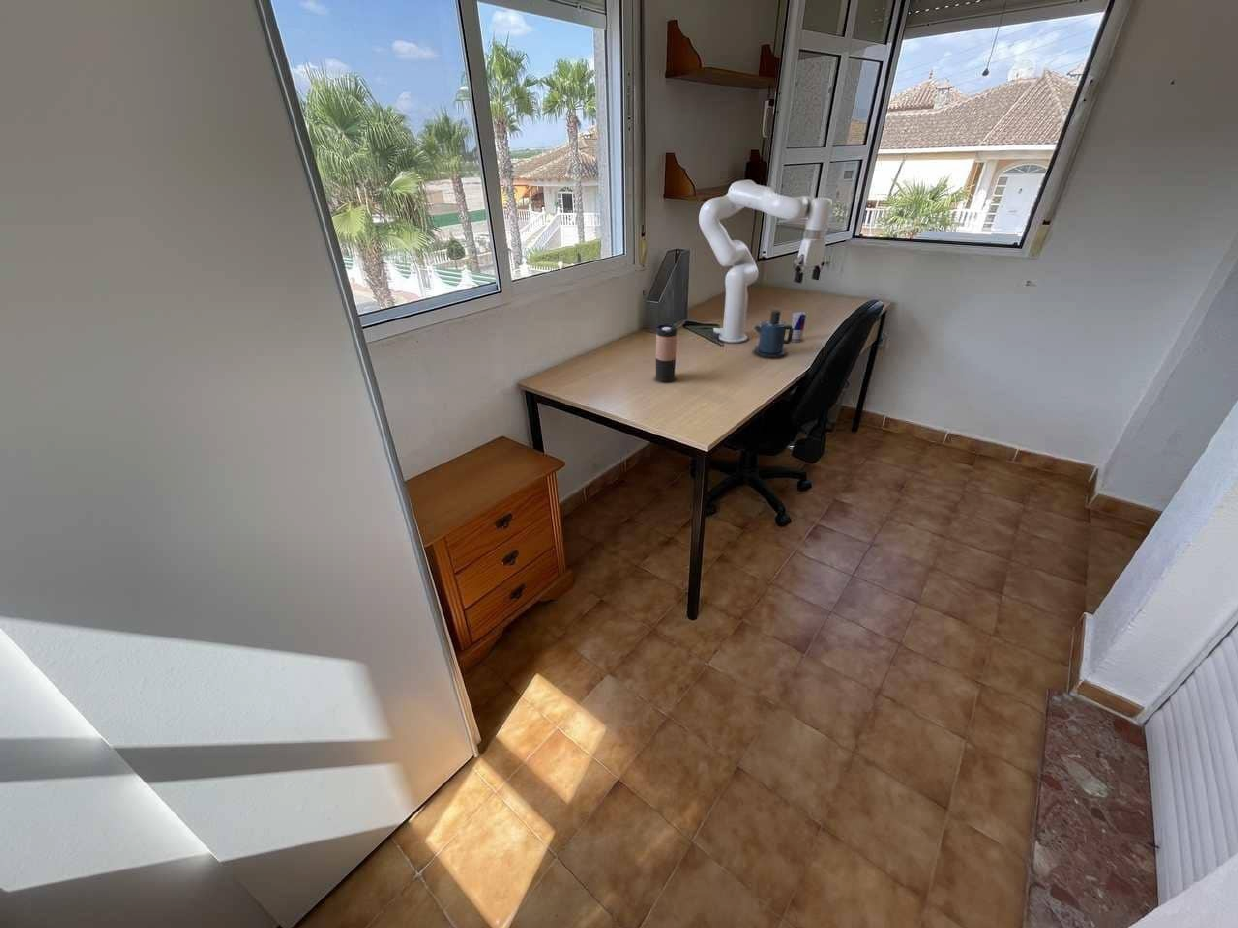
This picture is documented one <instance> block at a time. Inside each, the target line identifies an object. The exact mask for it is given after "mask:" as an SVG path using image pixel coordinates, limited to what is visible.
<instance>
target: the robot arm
mask: <svg viewBox="0 0 1238 928" xmlns="http://www.w3.org/2000/svg"><path fill="white" fill-rule="evenodd" d="M832 206H833V201H832V199H830V198H826V197H812V196H809V195H801V196H796V197H791V196H787V195H782V194H779V193H776V192H774V191H773V188H772V187H770V186H766V185H762V184H757V182H755V181H754V180H752V179H741V180H737V181H735V182H733V183H731V185H730V186H729V189H728V191H727V194H725V195H722V196H718V197H714V198H710V199H707V201H705V202H704V203H703V205H702V206H701V208H700V211H699V214H698V223H699V227H700V230H701V231H702V234H703V236H704V237H705V238H706V240H707V242H708V245H709V246H710V248H711V250H712V252H713V254H714V256H715V258H716V260H717V261H718V263H719V264H720V265H721V266H722V267H730V266H732V268H730V269H729V270H728V272H727V273H726V275H725V278H724V279H725V280H724V285H725V301H724V312H723V324H722V327H720V328H719V327H713V329H712V332H713V333H714V334H719V335H718V340H720V341H722V342H724V343H728V344H740V343H743V342H746V341H747V340H748V336H747V335H746V334H745V326H746V319H747V318H746V317H747V308H748V301H749V295H748V287H749V286H751V285H753V284H754V283H755V282H756V281H757V280H758V278H759V268H758V266H757V263H756V261H755V259H754V257H753V256H752V254H751V252H750V250H749V248H748V246H747V245H746V244H745V243H744V241H742V240H740V239H733V240H732V239H731V237H730V235H729V232H728V231H727V229H726V228H725V227H724V226H723V224H722V223H721V221H720V220H724V219H728V218H730V217H732V216H734V215H735V214H737V213H738V212H739V211H741V210H742V209H744V208H749V209H753V210H756V211H760V212H763V213H765V214H767V215H769V216H772V217H775V218H778V219H783V220H787V221H796V220H800V219H804V218H807V219H806V220H807V221H806V225H805V231H804V232H805V233H804V238H802V240H801V243H800V245H799V249H798V253H797V258H796V259H794V260H793V261H792V263H793V268H794V272H795V276H794V283H797V284H802V283H803V277H804V271H805V269H806V268H811V267H814V268H813V270H812V275H811V279H812V280H814V281H820V276H821V272H822V270H823V268H824V265H825V264H826V262H827V259H828V256H827V255H825V249H826V236H827V231H828V227H829V221H830V216H831V210H832Z"/></svg>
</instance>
